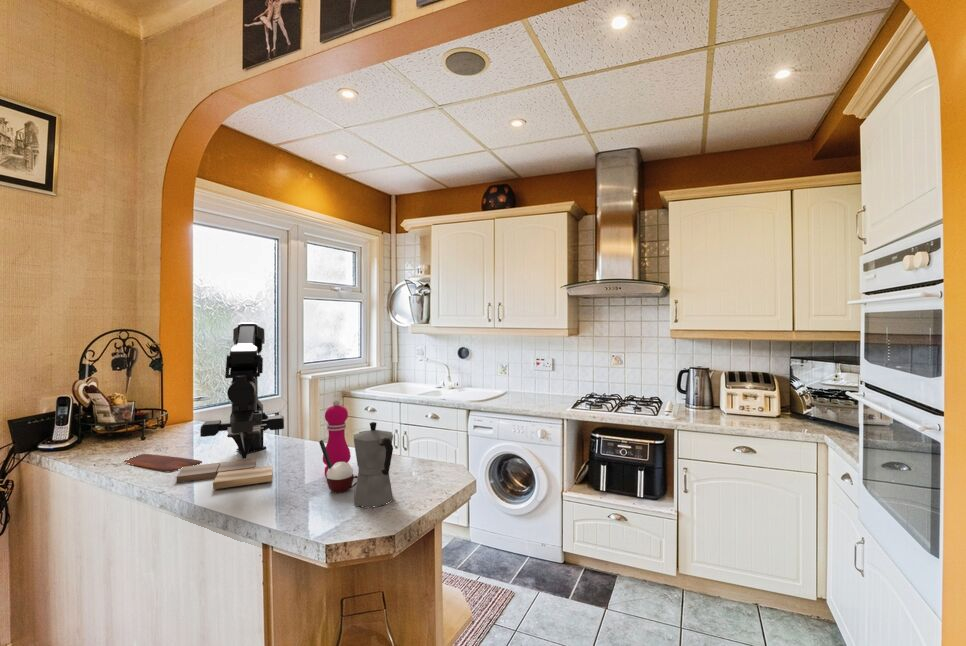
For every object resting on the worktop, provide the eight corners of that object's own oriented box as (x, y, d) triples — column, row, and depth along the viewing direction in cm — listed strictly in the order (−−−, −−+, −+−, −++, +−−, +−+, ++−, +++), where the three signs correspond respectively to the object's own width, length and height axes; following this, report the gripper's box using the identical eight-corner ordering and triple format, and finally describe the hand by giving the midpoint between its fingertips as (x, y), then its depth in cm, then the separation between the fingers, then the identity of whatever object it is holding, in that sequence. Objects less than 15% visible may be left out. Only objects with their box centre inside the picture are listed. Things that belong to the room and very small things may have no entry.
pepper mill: (356, 470, 123) (355, 398, 123) (337, 479, 116) (337, 403, 116) (336, 467, 126) (335, 397, 126) (316, 475, 119) (316, 401, 119)
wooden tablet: (205, 464, 131) (205, 459, 131) (170, 475, 122) (170, 469, 122) (147, 454, 141) (147, 449, 141) (111, 463, 132) (111, 458, 132)
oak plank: (218, 478, 117) (218, 472, 117) (272, 471, 122) (272, 465, 122) (213, 489, 108) (213, 482, 108) (272, 481, 113) (272, 474, 113)
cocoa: (361, 489, 110) (364, 441, 110) (344, 498, 104) (347, 446, 104) (331, 482, 114) (334, 435, 114) (313, 490, 108) (316, 441, 108)
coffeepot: (342, 496, 105) (342, 420, 105) (379, 487, 110) (379, 415, 110) (371, 518, 93) (370, 432, 93) (410, 506, 98) (410, 425, 98)
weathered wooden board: (183, 472, 122) (183, 466, 122) (255, 463, 129) (255, 458, 129) (176, 482, 114) (176, 476, 114) (254, 472, 122) (254, 466, 122)
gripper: (196, 406, 103) (196, 473, 103) (284, 400, 111) (284, 462, 111) (203, 399, 114) (204, 460, 114) (283, 394, 121) (283, 451, 121)
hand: (244, 458), depth 115 cm, fingers closed
